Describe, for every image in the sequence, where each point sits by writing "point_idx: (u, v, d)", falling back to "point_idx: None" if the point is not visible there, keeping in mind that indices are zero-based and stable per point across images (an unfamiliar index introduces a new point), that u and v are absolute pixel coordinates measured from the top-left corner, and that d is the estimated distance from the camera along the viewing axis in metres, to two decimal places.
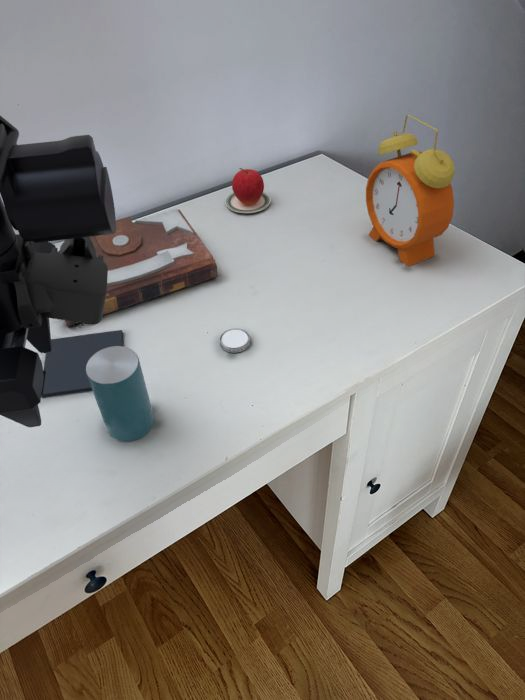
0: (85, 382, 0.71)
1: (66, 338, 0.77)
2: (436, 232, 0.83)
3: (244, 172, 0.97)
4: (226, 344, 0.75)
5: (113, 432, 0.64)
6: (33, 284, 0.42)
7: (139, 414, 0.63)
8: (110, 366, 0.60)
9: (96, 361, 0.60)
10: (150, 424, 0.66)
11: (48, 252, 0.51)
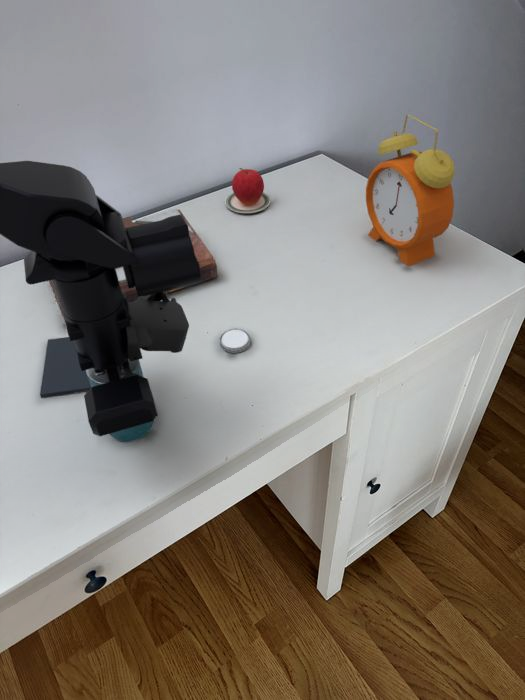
0: (85, 382, 0.71)
1: (66, 338, 0.77)
2: (436, 232, 0.83)
3: (244, 172, 0.97)
4: (226, 344, 0.75)
5: None
6: (138, 327, 0.55)
7: None
8: None
9: None
10: (150, 424, 0.66)
11: None
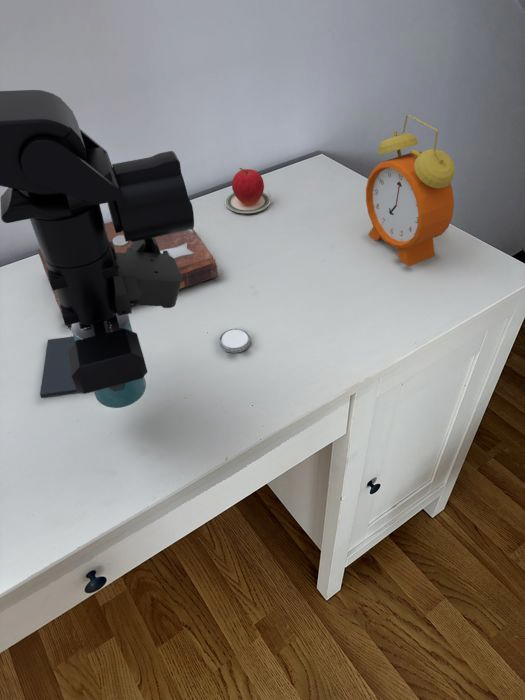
0: None
1: (66, 338, 0.77)
2: (436, 232, 0.83)
3: (244, 172, 0.97)
4: (226, 344, 0.75)
5: (102, 397, 0.60)
6: (126, 277, 0.51)
7: None
8: None
9: None
10: (141, 390, 0.61)
11: None
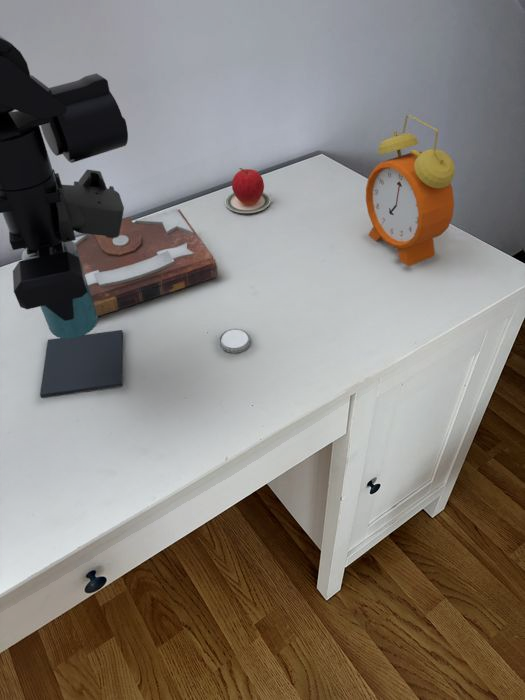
0: (85, 382, 0.71)
1: None
2: (436, 232, 0.83)
3: (244, 172, 0.97)
4: (226, 344, 0.75)
5: (54, 328, 0.64)
6: (69, 204, 0.55)
7: (79, 308, 0.62)
8: None
9: None
10: (92, 322, 0.65)
11: None
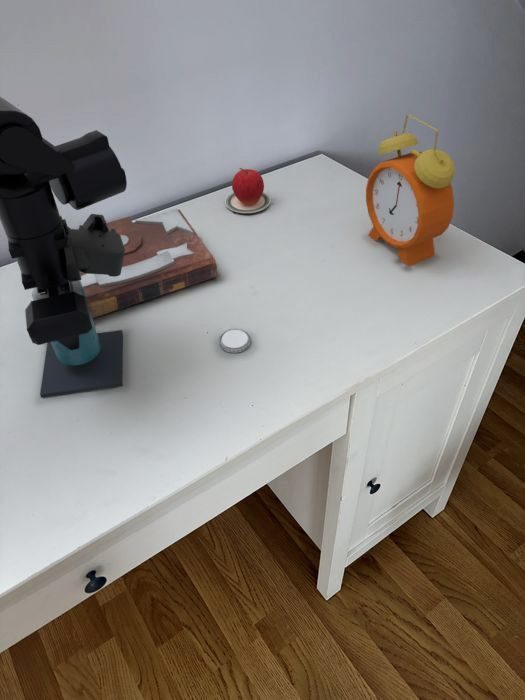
0: (85, 382, 0.71)
1: None
2: (436, 232, 0.83)
3: (244, 172, 0.97)
4: (226, 344, 0.75)
5: (61, 356, 0.69)
6: (76, 249, 0.60)
7: (84, 338, 0.68)
8: None
9: None
10: (95, 350, 0.71)
11: None
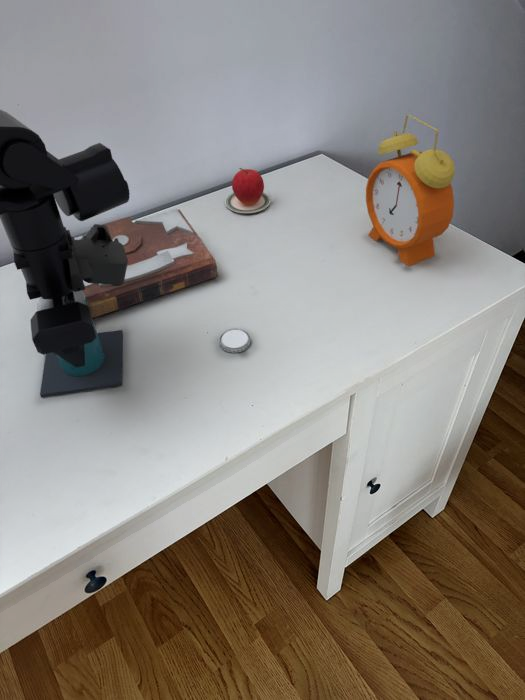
0: (85, 382, 0.71)
1: None
2: (436, 232, 0.83)
3: (244, 172, 0.97)
4: (226, 344, 0.75)
5: (65, 367, 0.71)
6: (79, 259, 0.61)
7: (88, 350, 0.70)
8: None
9: (47, 299, 0.67)
10: (99, 361, 0.72)
11: None
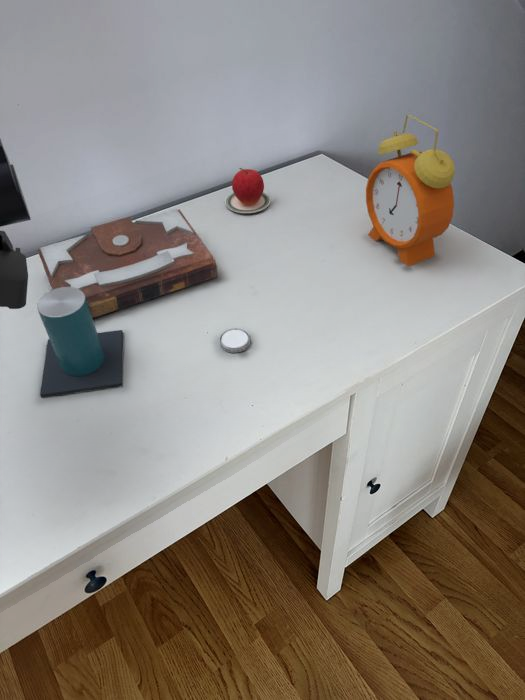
0: (85, 382, 0.71)
1: None
2: (436, 232, 0.83)
3: (244, 172, 0.97)
4: (226, 344, 0.75)
5: (65, 367, 0.71)
6: None
7: (88, 350, 0.70)
8: (59, 303, 0.66)
9: (47, 299, 0.67)
10: (99, 361, 0.72)
11: None
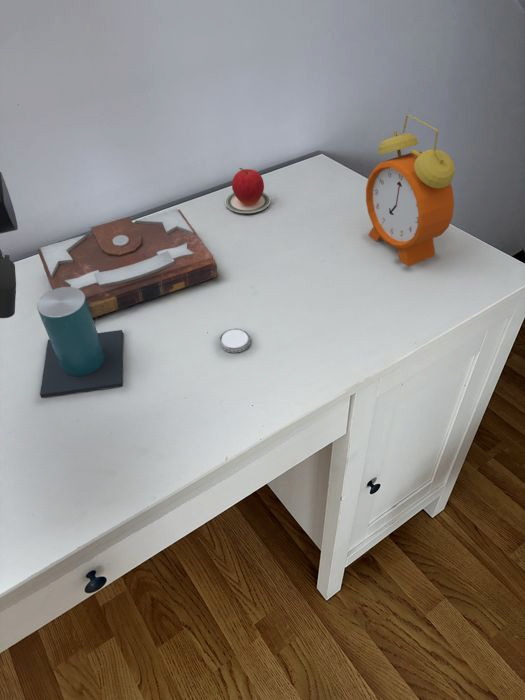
0: (85, 382, 0.71)
1: None
2: (436, 232, 0.83)
3: (244, 172, 0.97)
4: (226, 344, 0.75)
5: (65, 367, 0.71)
6: None
7: (88, 350, 0.70)
8: (59, 303, 0.66)
9: (47, 299, 0.67)
10: (99, 361, 0.72)
11: None
